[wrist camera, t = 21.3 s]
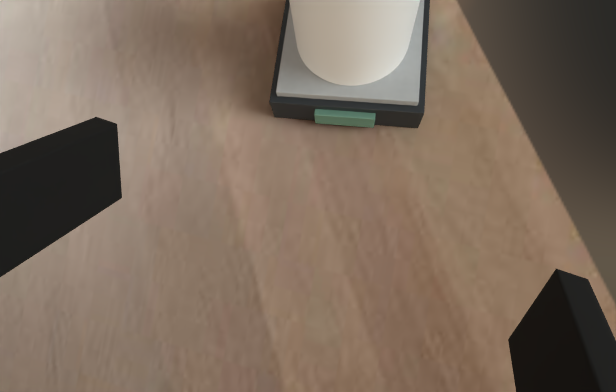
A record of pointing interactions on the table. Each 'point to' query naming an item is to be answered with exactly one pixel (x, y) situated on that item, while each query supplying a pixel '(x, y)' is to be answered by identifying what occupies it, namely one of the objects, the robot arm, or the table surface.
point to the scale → (352, 99)
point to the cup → (353, 37)
